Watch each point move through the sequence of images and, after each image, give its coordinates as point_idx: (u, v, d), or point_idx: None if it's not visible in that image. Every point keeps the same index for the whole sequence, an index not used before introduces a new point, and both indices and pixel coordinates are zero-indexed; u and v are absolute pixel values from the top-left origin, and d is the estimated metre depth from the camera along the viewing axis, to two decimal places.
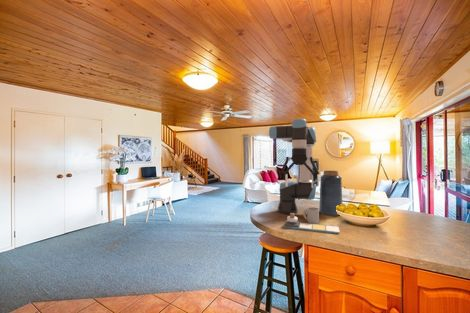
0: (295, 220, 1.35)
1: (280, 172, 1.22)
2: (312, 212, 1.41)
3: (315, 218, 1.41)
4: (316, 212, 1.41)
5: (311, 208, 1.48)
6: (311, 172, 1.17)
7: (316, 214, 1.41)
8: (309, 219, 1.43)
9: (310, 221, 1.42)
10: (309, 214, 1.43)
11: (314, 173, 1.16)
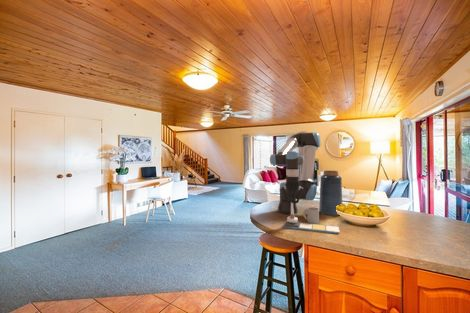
0: (295, 221, 1.35)
1: (286, 201, 1.38)
2: (312, 212, 1.41)
3: (315, 218, 1.41)
4: (316, 212, 1.41)
5: (311, 208, 1.48)
6: (293, 200, 1.36)
7: (316, 214, 1.41)
8: (309, 219, 1.43)
9: (310, 221, 1.42)
10: (309, 214, 1.43)
11: (294, 202, 1.36)
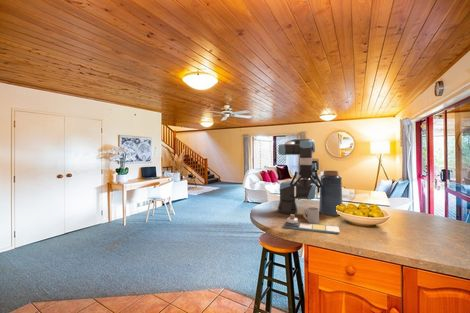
0: (295, 221, 1.35)
1: (290, 184, 1.46)
2: (312, 212, 1.41)
3: (315, 218, 1.41)
4: (316, 212, 1.41)
5: (311, 208, 1.48)
6: (316, 185, 1.39)
7: (316, 214, 1.41)
8: (309, 219, 1.43)
9: (310, 221, 1.42)
10: (309, 214, 1.43)
11: (318, 186, 1.38)
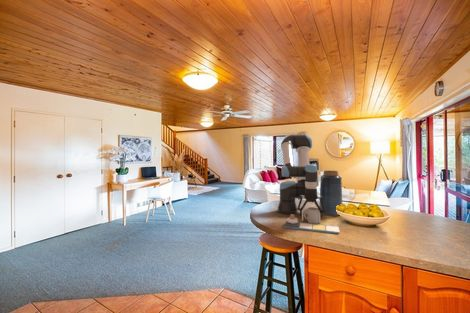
0: (295, 221, 1.35)
1: (297, 209, 1.47)
2: (312, 212, 1.41)
3: (315, 218, 1.41)
4: (316, 212, 1.41)
5: (311, 208, 1.48)
6: (319, 210, 1.42)
7: (316, 214, 1.41)
8: (309, 219, 1.43)
9: (310, 221, 1.42)
10: (309, 214, 1.43)
11: (321, 211, 1.42)
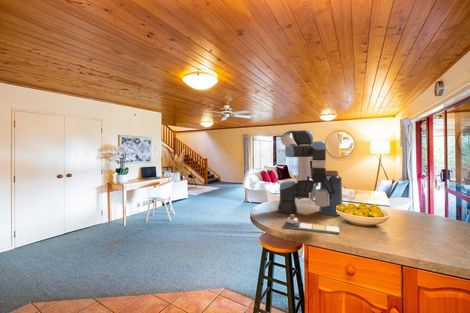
0: (295, 221, 1.35)
1: (304, 191, 1.34)
2: (320, 193, 1.28)
3: (323, 200, 1.28)
4: (325, 193, 1.28)
5: (319, 189, 1.34)
6: (328, 191, 1.29)
7: (325, 196, 1.28)
8: (317, 201, 1.29)
9: (318, 203, 1.29)
10: (317, 196, 1.29)
11: (330, 192, 1.28)
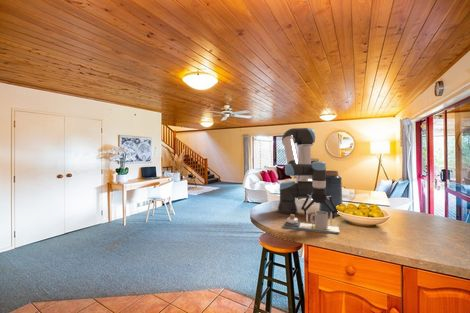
0: (295, 221, 1.35)
1: (301, 208, 1.35)
2: (320, 216, 1.28)
3: (323, 223, 1.28)
4: (325, 216, 1.28)
5: (319, 211, 1.35)
6: (330, 210, 1.29)
7: (325, 219, 1.28)
8: (317, 224, 1.30)
9: (318, 226, 1.29)
10: (317, 219, 1.30)
11: (333, 211, 1.28)
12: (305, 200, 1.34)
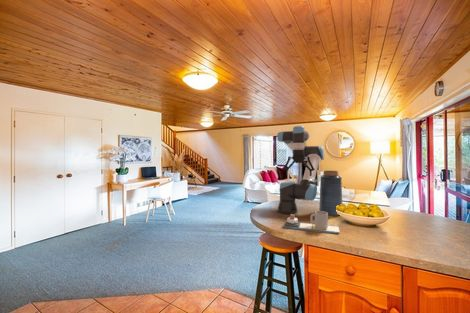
0: (295, 221, 1.35)
1: (283, 169, 1.52)
2: (320, 216, 1.28)
3: (323, 223, 1.28)
4: (325, 216, 1.28)
5: (319, 211, 1.35)
6: (308, 168, 1.46)
7: (325, 219, 1.28)
8: (317, 224, 1.30)
9: (318, 226, 1.29)
10: (317, 219, 1.30)
11: (310, 169, 1.45)
12: None
